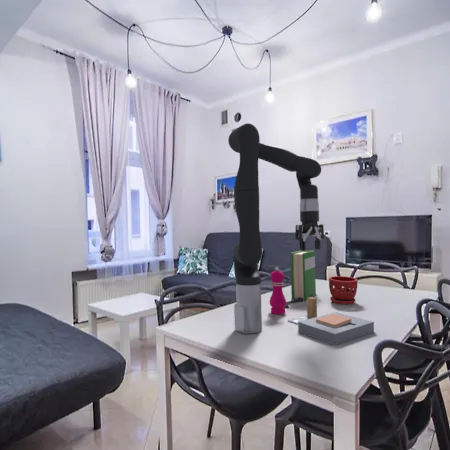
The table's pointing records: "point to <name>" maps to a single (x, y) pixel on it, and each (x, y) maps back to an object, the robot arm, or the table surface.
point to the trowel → (308, 311)
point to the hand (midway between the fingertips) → (310, 249)
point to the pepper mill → (277, 293)
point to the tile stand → (336, 329)
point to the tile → (333, 320)
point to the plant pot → (342, 289)
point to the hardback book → (303, 274)
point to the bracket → (293, 301)
